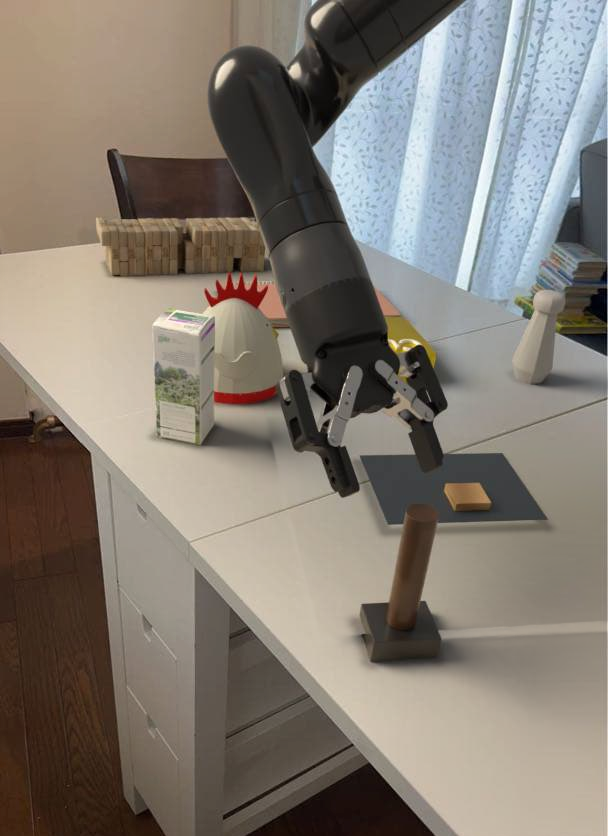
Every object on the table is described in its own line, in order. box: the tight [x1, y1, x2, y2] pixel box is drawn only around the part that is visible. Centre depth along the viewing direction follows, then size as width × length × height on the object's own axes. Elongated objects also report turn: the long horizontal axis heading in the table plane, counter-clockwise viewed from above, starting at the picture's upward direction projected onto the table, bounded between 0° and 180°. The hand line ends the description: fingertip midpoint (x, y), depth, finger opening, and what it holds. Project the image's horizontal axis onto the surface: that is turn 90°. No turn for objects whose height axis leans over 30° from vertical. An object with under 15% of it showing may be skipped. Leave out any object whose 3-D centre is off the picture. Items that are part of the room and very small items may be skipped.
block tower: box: [95, 217, 266, 277], centre depth 144 cm, size 8×8×29 cm
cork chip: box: [444, 483, 491, 511], centre depth 88 cm, size 4×4×1 cm
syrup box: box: [151, 308, 215, 446], centre depth 94 cm, size 6×6×14 cm
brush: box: [359, 503, 442, 663], centre depth 67 cm, size 6×5×14 cm
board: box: [359, 452, 548, 525], centre depth 91 cm, size 18×14×1 cm
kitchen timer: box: [202, 272, 285, 405], centre depth 106 cm, size 14×14×15 cm
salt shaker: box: [511, 289, 566, 385], centre depth 115 cm, size 6×6×13 cm
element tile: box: [385, 316, 437, 384], centre depth 117 cm, size 15×15×5 cm
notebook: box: [220, 280, 402, 328], centre depth 134 cm, size 27×17×2 cm, turn 105°
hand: (393, 481), depth 65 cm, fingers open, 8 cm apart
